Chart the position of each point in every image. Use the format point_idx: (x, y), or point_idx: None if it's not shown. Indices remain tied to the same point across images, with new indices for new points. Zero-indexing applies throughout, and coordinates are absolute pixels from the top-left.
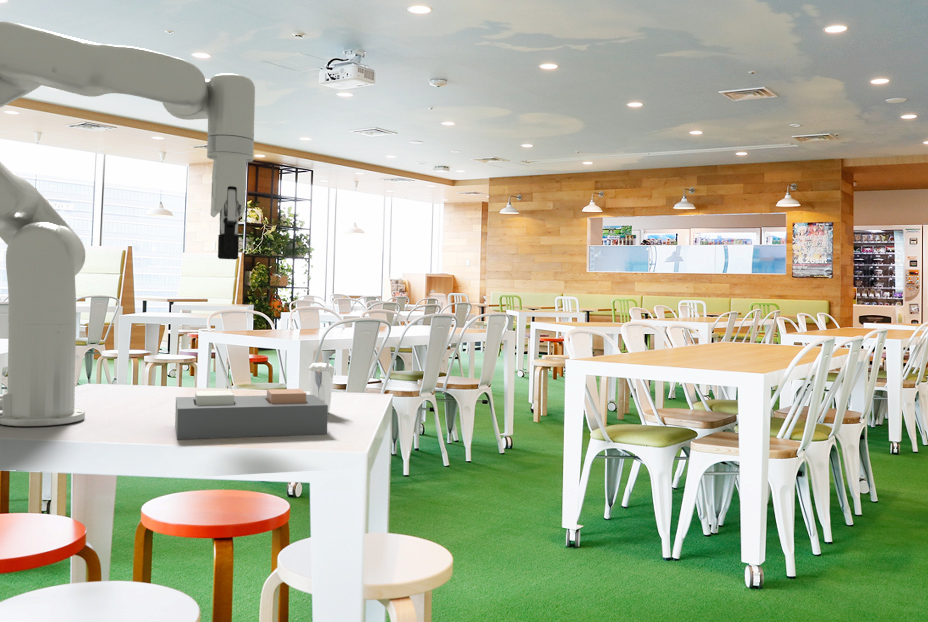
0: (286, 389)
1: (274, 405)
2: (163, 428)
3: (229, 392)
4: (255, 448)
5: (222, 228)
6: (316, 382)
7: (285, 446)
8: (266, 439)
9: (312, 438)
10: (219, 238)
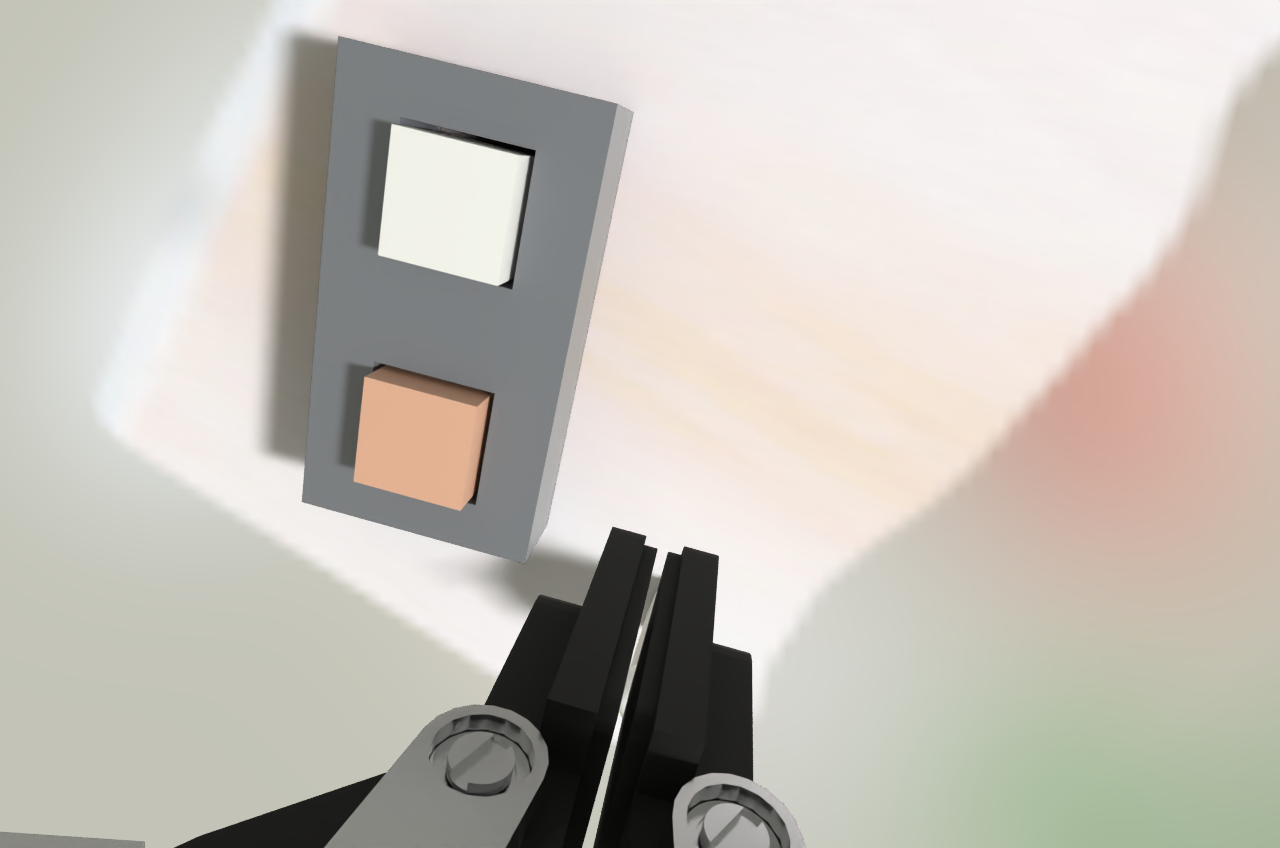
0: (457, 464)
1: (331, 359)
2: (592, 59)
3: (447, 262)
4: (212, 224)
5: (389, 782)
6: (641, 642)
7: (219, 305)
8: None
9: (301, 410)
10: (560, 664)
